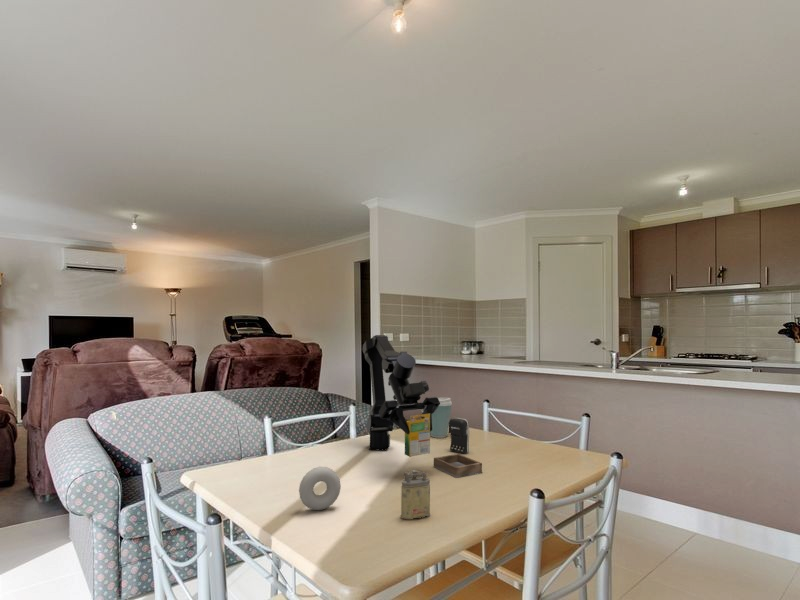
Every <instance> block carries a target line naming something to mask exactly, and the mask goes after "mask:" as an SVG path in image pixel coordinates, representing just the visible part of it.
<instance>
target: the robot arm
mask: <svg viewBox="0 0 800 600" xmlns="http://www.w3.org/2000/svg"><path fill="white" fill-rule="evenodd" d="M362 352H363V355H364V359H365V361H366V363H368V365H369V371H370V380H371V381H370V383H371V384H370V385H371V393H372V405H371V408H370V410H369V413H368V414H369V415H368V418H367V421H366V424H365V425H366V427H365V428H366V431H367V432H368V433H369V447H368V450H369V451H387V450H388V449H390V447H391V434H390V433H389V432H393V429H394V425H396V426H397V427H398V428H400V430H402V431H403V432H404V434H405V433H406V434H409V433H410V431H409V428H408V425H407V423H406V421H407V420H406V418H405V416H404V412H410V411H420V412H421V414H420V415H423V414H430V431H432V414H433V413H434V412H435V410H436V409H437V408H438V406H439V405H440V401H439V399H438V398H439V397H437V396H430V397H428V396H427V397H425V399H424V400H423V402H419V401H420V400H421V396H422V395H425V394H426V393H427V392H429V390H430V387H429V384H428V382H427V381H426V380H421V381H420V382H413V383H410V381H409V378H411V376H412V373H413V371H414V369H415V365H416V363H417V362H416V361H417V360H416V358H415V357H414V356H412V355H411V354H409V353H408V351H403V350H402V351H400V352H399V351H396V350H395V348H394V347H393V346H392V344H391V343H390V341H389V337H388V335H386V334H375V335H373V336H372V337H370V338H369V339H366V340H365V341H364V343H363V345H362ZM384 373H385V374H389V376H388V379H387V380H388V382H387V385H388V386H389V387H391V389H392V392H393V396H392V399H393V400H386V390H385V388H386V387H385V382H384V379H385V378H384ZM419 418H420V419H423V418H425V417H421V416H420V417H419Z"/></svg>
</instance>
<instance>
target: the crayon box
mask: <svg viewBox="0 0 800 600" xmlns="http://www.w3.org/2000/svg"><path fill="white" fill-rule="evenodd" d="M420 416H421V417H425V418H423V419H422V418H421V417H420ZM406 423H407V425H408V428H409V431H410V433H409V434H406V433H405V432H404V456H407V457H409V458H411V457H415V456H421V455H426V454H431V435H430V414H423V415H421V414H416V415H410V416H409V419H408V420H406Z"/></svg>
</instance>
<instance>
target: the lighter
mask: <svg viewBox="0 0 800 600" xmlns="http://www.w3.org/2000/svg"><path fill="white" fill-rule="evenodd" d="M403 473H404V474H403V476H404V477H403V478H404V479H403V480H402V481H401V487H400V488H401V489H400V491H401V493H400V495H401V496H400V497H401V499H400V502H401V503H400V505H401V508H400V509H401V512H400V513H401V514H400V518H402V519H403V518H405V519H404V520H414V519H413V518H420V519H421V517H422V518H426V517H425V516H427V517H429V516H430V515H431V484H430V481H431V480H430V478H428V477H426V475H427V472H425V471H423V470H416V469H413V470H411V471H408V472H407V471H405V472H403ZM419 475H421V476H422V477H421V476H420V477H418V476H419Z"/></svg>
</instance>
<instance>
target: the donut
mask: <svg viewBox="0 0 800 600" xmlns="http://www.w3.org/2000/svg"><path fill="white" fill-rule="evenodd" d="M320 482H323V483H325V484H326V490H325V491H324V492H323V493H322V494H316V493H315V491H314V488H315V486H316V485H317V483H320ZM341 486H342V485H341V480H340V477H339V475H338V473H337V472H336V471H335V470H333V469H332V468H330V467H327V466H317V467H314V468H312V469H310V470H309V471H308V472H306V473H305V475H303V477H302V478H301V481H300V483H299V488H298V493H299V499H300V501H301V502H302V504H303V505H304V506H305V507H307V508H308V509H310V510H313V511H322V510H326V509H328V508H330V507H331V506H332V505H333V504H334V503H335V502H336V501H337V500H338V498H339V495H340V493H341Z"/></svg>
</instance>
